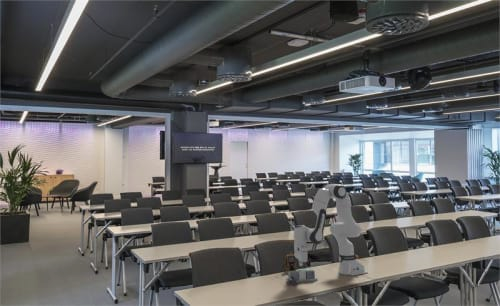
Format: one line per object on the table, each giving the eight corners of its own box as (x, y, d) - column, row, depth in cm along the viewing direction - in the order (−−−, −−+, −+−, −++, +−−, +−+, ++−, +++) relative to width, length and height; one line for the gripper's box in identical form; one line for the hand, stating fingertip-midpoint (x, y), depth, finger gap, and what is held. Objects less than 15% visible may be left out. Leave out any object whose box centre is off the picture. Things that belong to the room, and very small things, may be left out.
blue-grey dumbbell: (314, 278, 294) (313, 268, 294) (317, 280, 287) (317, 270, 288) (286, 280, 290) (285, 270, 290) (288, 283, 283) (288, 273, 283)
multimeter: (286, 274, 307) (284, 249, 308) (282, 271, 317) (281, 246, 318) (303, 273, 310) (302, 247, 311) (299, 270, 320) (298, 245, 321)
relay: (296, 283, 282) (296, 278, 282) (296, 285, 278) (296, 279, 278) (288, 283, 283) (288, 278, 283) (288, 285, 279) (287, 279, 279)
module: (297, 278, 290) (297, 269, 291) (304, 278, 291) (303, 268, 292) (299, 280, 286) (299, 270, 286) (306, 279, 287) (305, 269, 287)
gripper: (292, 244, 299) (292, 263, 299) (300, 249, 279) (301, 269, 278) (299, 244, 301) (300, 262, 300) (308, 249, 280) (309, 268, 280)
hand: (300, 265), depth 289 cm, fingers closed
